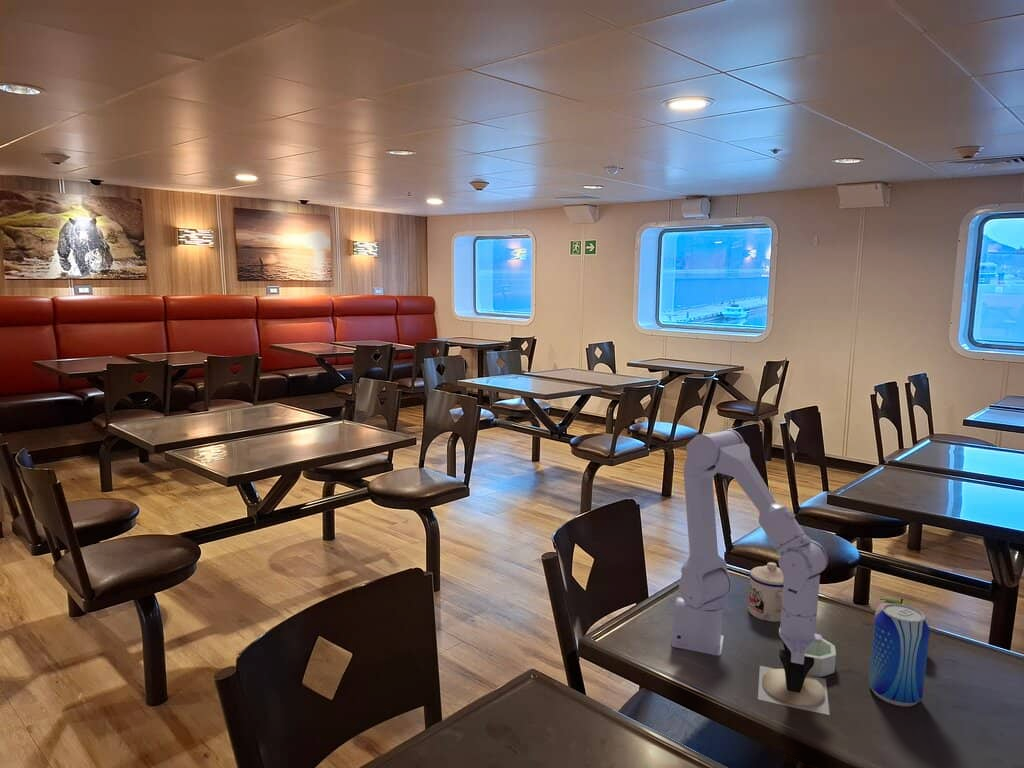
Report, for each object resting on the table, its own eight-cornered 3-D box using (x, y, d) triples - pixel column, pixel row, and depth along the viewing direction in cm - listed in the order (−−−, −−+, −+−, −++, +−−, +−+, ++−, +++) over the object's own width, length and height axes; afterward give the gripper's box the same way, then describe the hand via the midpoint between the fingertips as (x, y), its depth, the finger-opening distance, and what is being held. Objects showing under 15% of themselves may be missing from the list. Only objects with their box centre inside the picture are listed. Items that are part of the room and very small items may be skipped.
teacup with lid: (740, 604, 157) (743, 555, 155) (778, 603, 158) (781, 554, 156) (764, 630, 145) (768, 578, 144) (805, 629, 146) (809, 577, 144)
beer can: (929, 713, 118) (939, 626, 116) (876, 706, 120) (885, 620, 117) (911, 685, 126) (920, 603, 124) (862, 679, 128) (870, 598, 125)
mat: (757, 701, 121) (757, 699, 121) (759, 667, 131) (759, 665, 131) (829, 717, 117) (829, 714, 117) (825, 681, 127) (825, 679, 127)
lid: (761, 698, 121) (763, 673, 120) (762, 667, 131) (764, 644, 130) (826, 712, 117) (828, 686, 117) (822, 679, 127) (824, 655, 126)
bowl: (784, 671, 130) (785, 651, 129) (784, 648, 138) (785, 630, 138) (835, 682, 127) (837, 661, 126) (832, 658, 135) (833, 639, 134)
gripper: (826, 633, 113) (819, 708, 116) (821, 596, 127) (815, 664, 129) (780, 625, 116) (774, 699, 118) (780, 589, 129) (775, 656, 131)
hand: (793, 680), depth 124 cm, fingers open, 6 cm apart
